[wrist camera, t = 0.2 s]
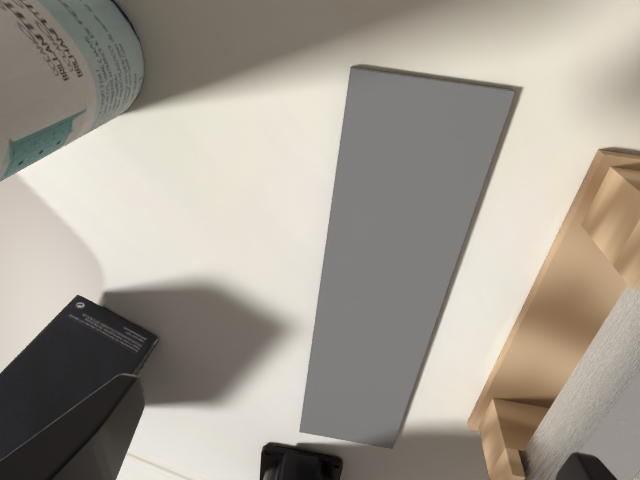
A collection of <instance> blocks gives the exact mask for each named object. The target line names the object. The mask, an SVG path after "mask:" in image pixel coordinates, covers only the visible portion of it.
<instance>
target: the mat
mask: <svg viewBox="0 0 640 480" xmlns="http://www.w3.org/2000/svg"><path fill="white" fill-rule="evenodd" d="M514 94H515V91H514V90H512V89H505V88H498V87H491V86H483V85H476V84H469V83H462V82H455V81H448V80H441V79H434V78H427V77H420V76H413V75H406V74H399V73H392V72H385V71H378V70H371V69H363V68H356V67H351V69H350V76H349V83H348V90H347V97H346V105H345V112H344V119H343V126H342V133H341V140H340V147H339V154H338V162H337V169H336V176H335V183H334V190H333V197H332V204H331V211H330V218H329V226H328V233H327V240H326V247H325V254H324V261H323V268H322V275H321V282H320V290H319V297H318V304H317V311H316V318H315V325H314V332H313V339H312V347H311V354H310V361H309V368H308V375H307V382H306V389H305V396H304V403H303V411H302V418H301V425H300V432H303V433H308V434H314V435H319V436H325V437H330V438H336V439H341V440H347V441H352V442H357V443H363V444H368V445H374V446H379V447H385V448H390V449H392V448H393V445H394V442H395V439H396V436H397V433H398V430H399V427H400V424H401V421H402V419H403V416H404V413H405V410H406V407H407V404H408V401H409V398H410V395H411V392H412V390H413V387H414V384H415V381H416V378H417V375H418V372H419V369H420V366H421V363H422V361H423V358H424V355H425V352H426V349H427V346H428V343H429V340H430V337H431V334H432V332H433V329H434V326H435V323H436V320H437V317H438V314H439V311H440V308H441V305H442V303H443V300H444V297H445V294H446V291H447V288H448V285H449V282H450V279H451V276H452V274H453V271H454V268H455V265H456V262H457V259H458V256H459V253H460V250H461V247H462V245H463V242H464V239H465V236H466V233H467V230H468V227H469V224H470V221H471V218H472V216H473V213H474V210H475V207H476V204H477V201H478V198H479V195H480V192H481V189H482V187H483V184H484V181H485V178H486V175H487V172H488V169H489V166H490V163H491V160H492V158H493V155H494V152H495V149H496V146H497V143H498V140H499V137H500V134H501V131H502V129H503V126H504V123H505V120H506V117H507V114H508V111H509V108H510V105H511V102H512V100H513V97H514Z"/></svg>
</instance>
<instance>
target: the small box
mask: <svg viewBox="0 0 640 480" xmlns="http://www.w3.org/2000/svg"><path fill="white" fill-rule="evenodd" d="M158 341H159V339H158V338H157V337H156V336H154V335H152V334H150V333H148V332H146V331H144V330H142V329H140V328H138V327H137V326H135V325H133V324H131V323H129V322H127V321H126V320H124V319H122V318H120V317H119V316H117V315H115V314H113V313H111V312H110V311H108V310H106V309H104V308H103V307H101V306H99V305H97V304H95V303H93V302H92V301H89V300H88V299H86V298H84V297H82V296H79V295H77V296H76V297H75V298H74V299H73V300H72V301H71V302H70V303H69V304H68V305H67V306H66V307H65V308H64V309H63V310H62V311H61V312H60V313H59V314H58V315H57V316H56V317H55V318H54V319H53V320H52V321H51V322H50V323H49V324H48V325H47V326H46V327H45V328H44V329H43V330H42V331H41V332H40V333H39V334H38V336H37V337H36V338H35V339H34V340H33V341H32V342H31V343H30V344H29V345H28V346H27V347H26V348H25V349H24V350H23V351H22V352H21V353H20V354H19V355H18V356H17V357H16V358H15V359H14V360H13V361H12V362H11V363H10V364H9V365H8V366H7V367H6V368H5V369H4V370H3V371H2V372H1V373H0V460H2V459H3V458H5V457H6V456H7V455H9V454H10V453H11V452H13V451H14V450H15V449H17V448H18V447H20V446H21V445H22V444H24V443H25V442H26V441H28V440H29V439H31V438H32V437H33V436H35V435H36V434H37V433H39V432H40V431H42V430H43V429H44V428H46V427H47V426H48V425H50V424H51V423H52V422H54V421H55V420H57V419H58V418H59V417H61V416H62V415H63V414H65V413H66V412H68V411H69V410H70V409H72V408H73V407H74V406H76V405H77V404H79V403H80V402H81V401H83V400H84V399H85V398H87V397H88V396H90V395H91V394H92V393H94V392H95V391H96V390H98V389H99V388H100V387H102V386H103V385H105V384H106V383H107V382H109V381H110V380H111V379H113V378H114V377H116V376H117V375H119V374H123V373H125V374H131V375H138V373H139V370H140V369H141V368H142V367H143V364H144V363H145V362H146V360H147V358H148V357H149V355H150V353H151V352H152V350H153V348H154V347H155V346H156V344H157V343H158Z"/></svg>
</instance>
